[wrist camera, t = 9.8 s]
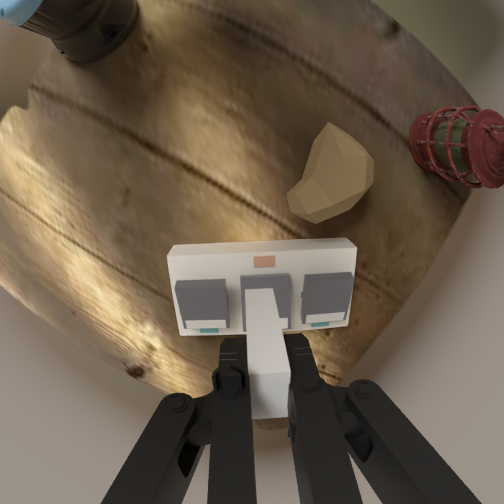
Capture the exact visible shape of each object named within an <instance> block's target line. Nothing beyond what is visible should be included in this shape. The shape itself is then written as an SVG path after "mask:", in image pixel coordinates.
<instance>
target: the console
mask: <svg viewBox="0 0 504 504" xmlns="http://www.w3.org/2000/svg"><path fill="white" fill-rule="evenodd" d="M356 254H357V247H356V246H355V245H354V244H353V243H352V242H351V241H350V240H348V239H347V238H320V239H294V240H270V241H247V242H225V243H204V244H184V245H174V246H173V247H172V249H171V250H170V252H169V254H168V255H167V261H168V268H169V275H170V281H171V287H172V293H173V299H174V305H175V311H176V316H177V321H178V327H179V332H180V335H233V334H247V332H243V323H242V304H241V285H240V276H242V275H263V274H283V273H289V274H290V278H291V329H285V330H282V332H288V331H301V330H312V329H323V328H333V327H342V326H348V320H349V313H350V306H351V299H352V294H351V299H350V303H349V307H348V312H347V316H346V320H341V321H331V322H320V323H309V324H302V321H301V317H300V315H301V305H302V295H303V285H304V275H305V274H322V273H338V272H351V273H352V275H353V277H354V274H355V264H356ZM205 279H226V287H227V297H228V307H229V316H230V328H211V329H184V326H183V322H182V318H181V314H180V310H179V306H178V302H177V298H176V293H175V289H174V288H175V284H176V280H205ZM352 291H353V289H352Z"/></svg>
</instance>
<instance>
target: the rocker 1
mask: <svg viewBox="0 0 504 504" xmlns="http://www.w3.org/2000/svg"><path fill="white" fill-rule="evenodd" d="M174 289H175V293H176V298H177V302H178V306H179V310H180V314H181V318H182V322H183V326H184V329H211V328H230V316H229V307H228V297H227V287H226V279H205V280H176V284H175V288H174Z"/></svg>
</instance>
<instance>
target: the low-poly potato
mask: <svg viewBox="0 0 504 504" xmlns="http://www.w3.org/2000/svg"><path fill="white" fill-rule="evenodd" d="M373 183H374V161H373V160H372V158H371V157H370V155H369V154H368V152H367V151H366V150H365V148H364V147H363V146H362V145H361V144H359V143H358V142H357V141H356V140H355V139H354V138H353V137H351V136H350V135H349V134H347V133H346V132H344V131H343V130H341V129H339V128H338V127H336V126H334V125H333V124H331V123H329V122H328V123H327V124H326V126H325V127H324V128H323V129H322V131H321V132H320V133H319V135H318V136H317V137H316V138H315V140H314V142H313V145H312V148H311V151H310V154H309V158H308V161H307V164H306V167H305V170H304V173H303V176H302V179H301V180H300V181H299V182H298V183H297V184H296V185H295V186H294V187H293V188H292V189H291V190H290V191H288V192H287V193H286V195H287V200H288V205H289V210H290V213H292V214H294V215H296V216H299V217H301V218H303V219H305V220H307V221H310V222H312V223H314V224H317V223H319V222H322V221H324V220H327V219H329V218H331V217H334V216H336V215H339V214H341V213H343V212H346V211H348V210H350V209H351V208H352V207H353V206H354V205H355V204H356V203H357V202H358V201H359V200H360V199H361V197H362V196H363V195H364V194H365V192H366V191H367V190H368V189H369V187H370V186H371V185H372V184H373Z"/></svg>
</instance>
